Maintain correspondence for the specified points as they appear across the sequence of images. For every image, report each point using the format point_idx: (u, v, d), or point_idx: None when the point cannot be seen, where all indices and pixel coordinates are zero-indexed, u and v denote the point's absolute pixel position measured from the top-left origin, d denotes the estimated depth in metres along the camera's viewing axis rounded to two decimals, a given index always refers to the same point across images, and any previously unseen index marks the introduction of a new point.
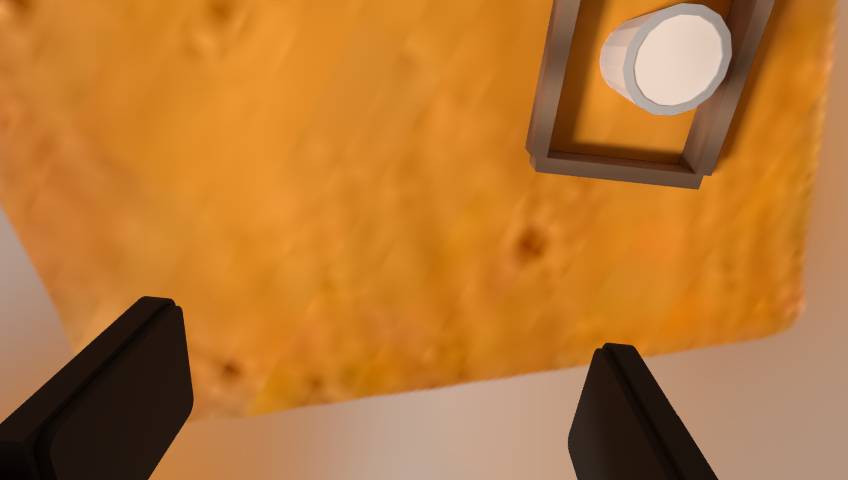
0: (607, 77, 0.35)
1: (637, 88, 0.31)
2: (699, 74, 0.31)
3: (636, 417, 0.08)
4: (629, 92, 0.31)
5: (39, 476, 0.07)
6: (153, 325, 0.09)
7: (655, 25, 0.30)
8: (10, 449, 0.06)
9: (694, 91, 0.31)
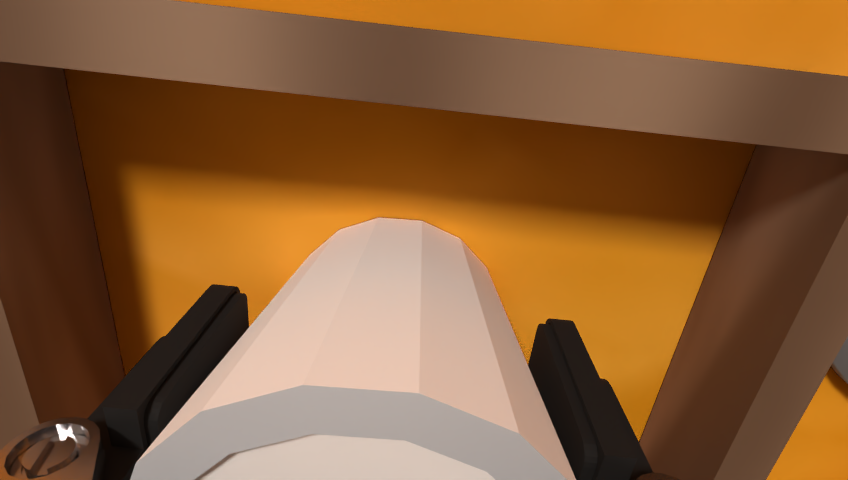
0: (321, 257, 0.10)
1: (213, 461, 0.06)
2: None
3: (562, 382, 0.09)
4: (188, 429, 0.06)
5: (146, 443, 0.07)
6: (226, 310, 0.10)
7: None
8: (125, 417, 0.07)
9: None
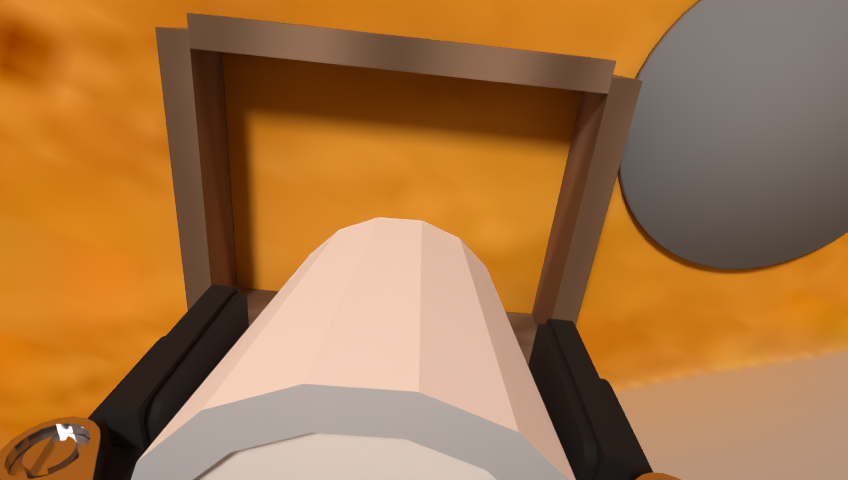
0: (321, 257, 0.10)
1: (214, 460, 0.06)
2: None
3: (562, 382, 0.09)
4: (189, 428, 0.06)
5: (146, 442, 0.07)
6: (226, 310, 0.10)
7: None
8: (125, 417, 0.07)
9: None
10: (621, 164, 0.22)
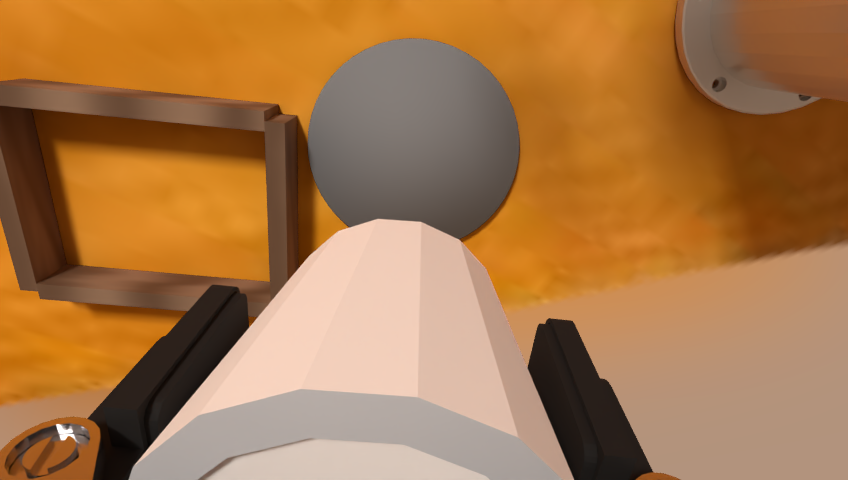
0: (320, 259, 0.10)
1: (211, 465, 0.06)
2: None
3: (562, 382, 0.09)
4: (185, 433, 0.06)
5: (146, 443, 0.07)
6: (226, 310, 0.10)
7: None
8: (125, 417, 0.07)
9: None
10: (313, 175, 0.32)
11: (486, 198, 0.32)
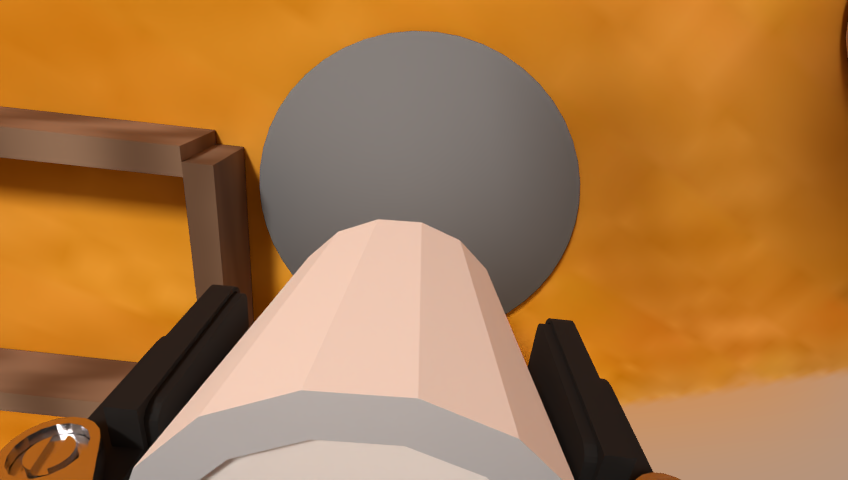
0: (320, 259, 0.10)
1: (211, 467, 0.06)
2: None
3: (562, 382, 0.09)
4: (185, 434, 0.06)
5: (146, 443, 0.07)
6: (226, 310, 0.10)
7: None
8: (125, 417, 0.07)
9: None
10: (270, 234, 0.22)
11: (525, 270, 0.22)
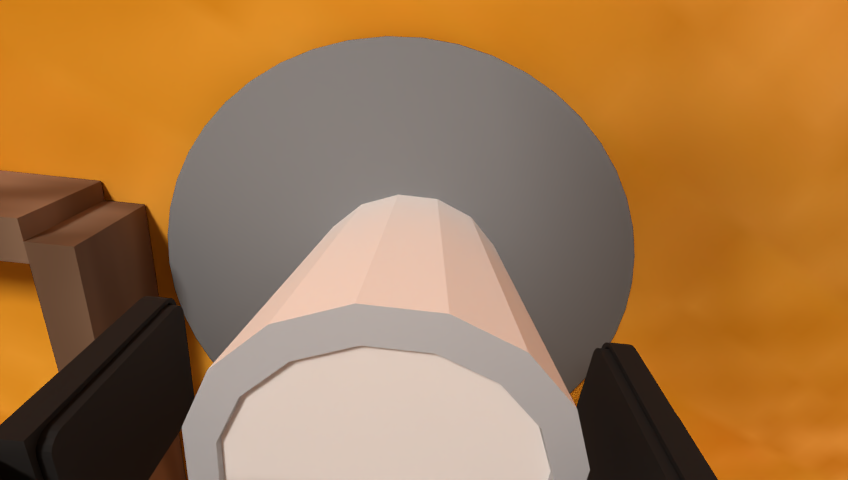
0: (349, 224, 0.11)
1: (274, 369, 0.07)
2: None
3: (635, 416, 0.08)
4: (255, 340, 0.07)
5: (40, 476, 0.07)
6: (154, 325, 0.09)
7: (524, 403, 0.07)
8: (11, 449, 0.06)
9: None
10: (190, 324, 0.15)
11: None
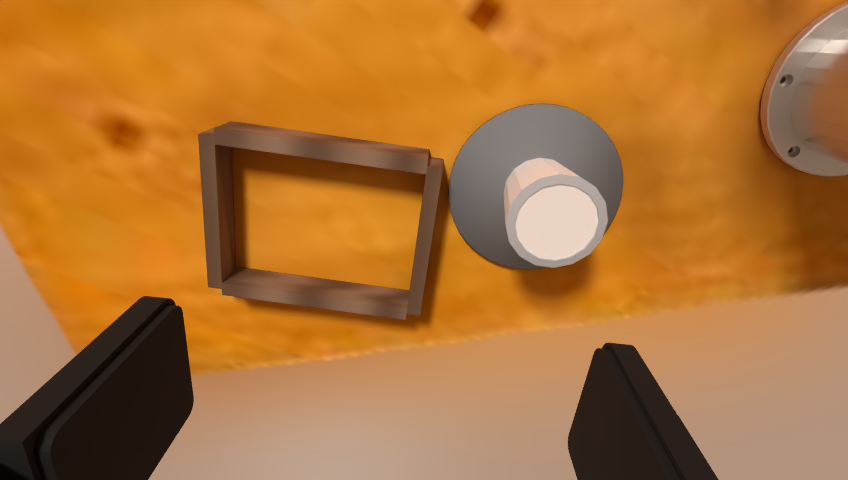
0: (530, 165, 0.35)
1: (538, 189, 0.31)
2: (540, 243, 0.33)
3: (636, 417, 0.08)
4: (535, 182, 0.31)
5: (39, 476, 0.07)
6: (153, 325, 0.09)
7: (594, 200, 0.31)
8: (10, 449, 0.06)
9: (525, 241, 0.33)
10: (450, 207, 0.39)
11: None
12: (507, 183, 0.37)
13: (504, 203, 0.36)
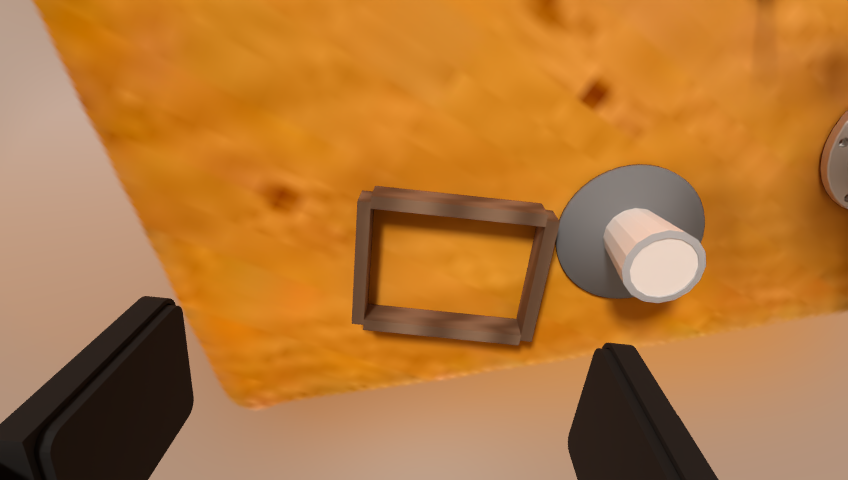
0: (632, 216, 0.43)
1: (651, 242, 0.38)
2: (649, 284, 0.40)
3: (636, 417, 0.08)
4: (648, 237, 0.38)
5: (39, 476, 0.07)
6: (153, 325, 0.09)
7: (695, 250, 0.38)
8: (10, 449, 0.06)
9: (637, 282, 0.40)
10: (557, 249, 0.46)
11: None
12: (610, 230, 0.44)
13: (610, 248, 0.43)
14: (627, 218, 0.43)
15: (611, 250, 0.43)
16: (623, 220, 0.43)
